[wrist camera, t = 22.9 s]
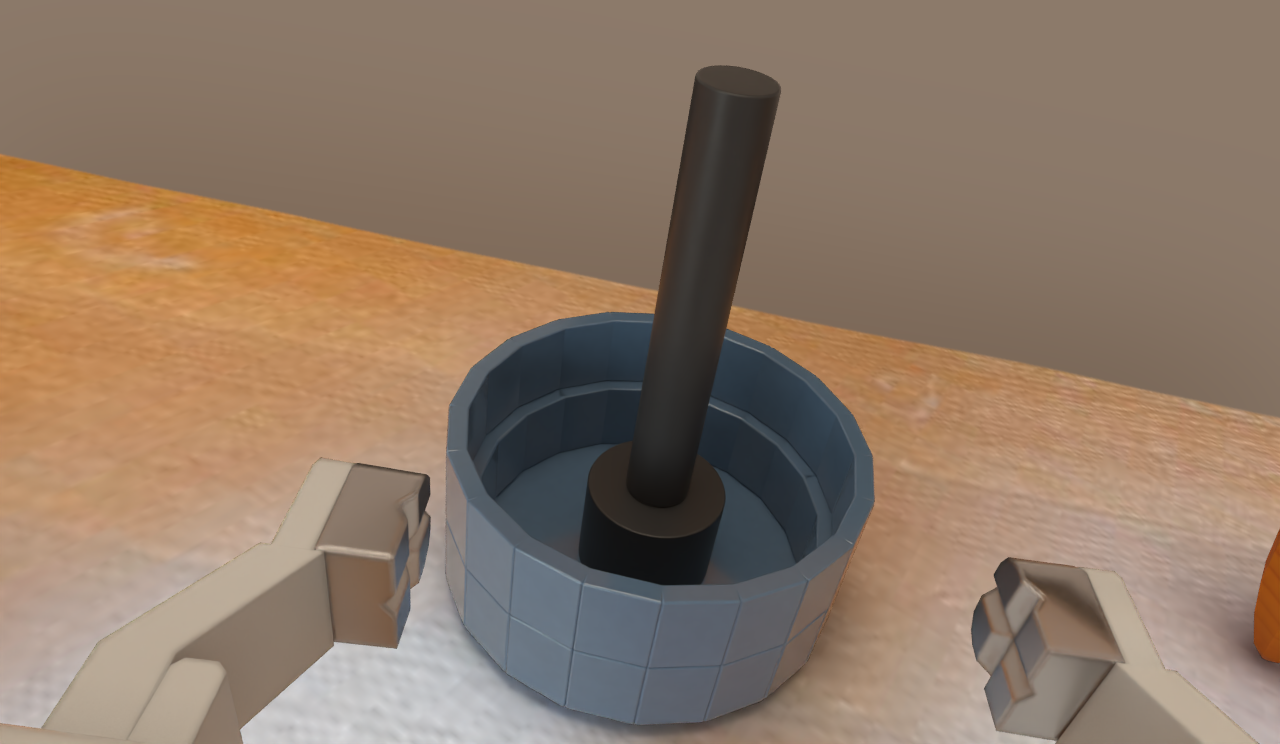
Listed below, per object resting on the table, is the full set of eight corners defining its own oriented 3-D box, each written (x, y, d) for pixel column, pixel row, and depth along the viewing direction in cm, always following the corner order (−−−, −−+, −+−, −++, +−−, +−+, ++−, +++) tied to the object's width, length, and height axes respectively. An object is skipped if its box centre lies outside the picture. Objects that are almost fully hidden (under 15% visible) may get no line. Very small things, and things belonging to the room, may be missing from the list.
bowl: (361, 601, 28) (350, 460, 25) (577, 396, 38) (592, 273, 34) (732, 822, 24) (783, 691, 21) (869, 530, 34) (921, 406, 30)
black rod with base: (552, 565, 29) (608, 75, 20) (619, 488, 33) (694, 35, 23) (671, 629, 28) (793, 135, 18) (728, 541, 31) (857, 84, 22)
